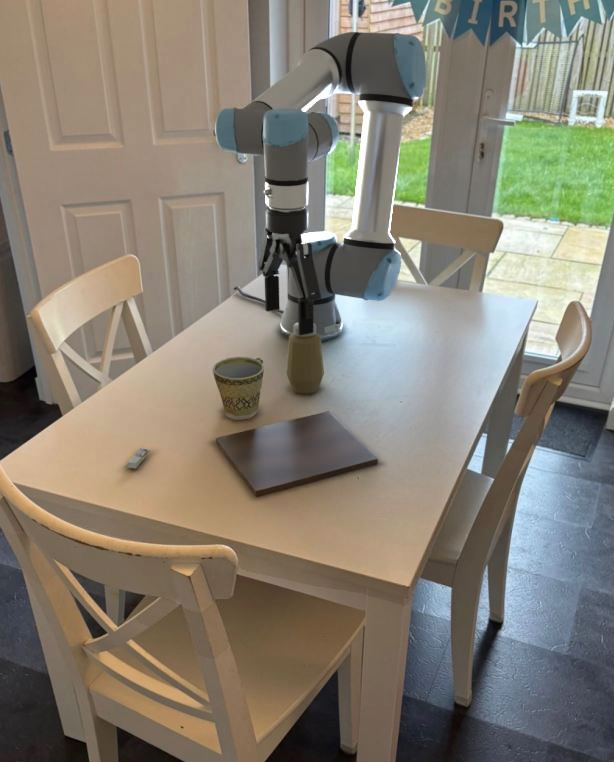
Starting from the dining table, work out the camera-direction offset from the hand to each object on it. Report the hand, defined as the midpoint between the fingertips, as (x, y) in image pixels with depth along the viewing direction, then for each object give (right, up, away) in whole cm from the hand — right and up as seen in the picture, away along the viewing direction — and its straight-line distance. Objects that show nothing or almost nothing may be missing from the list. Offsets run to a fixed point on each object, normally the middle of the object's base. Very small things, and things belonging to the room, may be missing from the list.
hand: (288, 321), depth 150 cm
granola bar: (-27, -27, -6) cm, 39 cm away
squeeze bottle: (+3, -11, +18) cm, 21 cm away
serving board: (+1, -25, -4) cm, 26 cm away
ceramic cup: (-9, -16, +10) cm, 21 cm away
